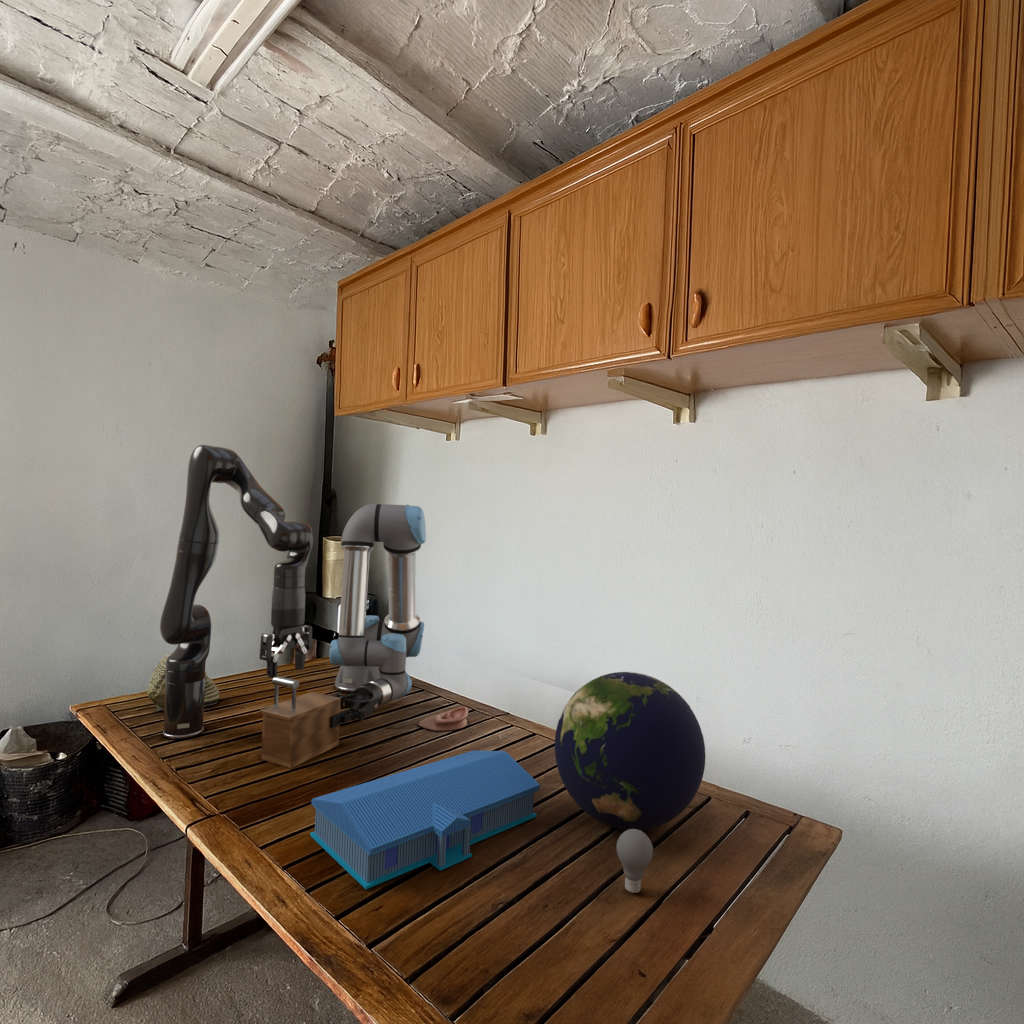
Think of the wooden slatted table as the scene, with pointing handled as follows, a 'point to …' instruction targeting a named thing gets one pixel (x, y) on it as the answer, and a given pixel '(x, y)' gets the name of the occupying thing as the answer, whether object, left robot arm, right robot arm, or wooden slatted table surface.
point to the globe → (630, 751)
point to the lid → (296, 701)
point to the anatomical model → (446, 720)
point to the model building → (423, 815)
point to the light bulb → (634, 857)
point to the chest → (299, 737)
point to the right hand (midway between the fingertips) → (315, 718)
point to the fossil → (158, 687)
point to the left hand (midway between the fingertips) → (286, 673)
